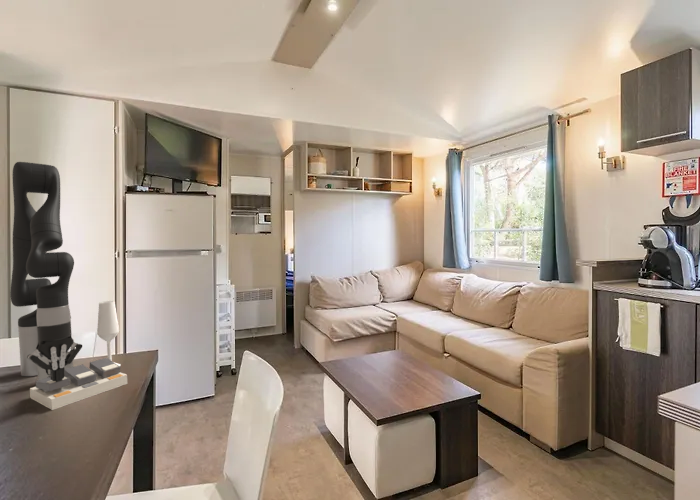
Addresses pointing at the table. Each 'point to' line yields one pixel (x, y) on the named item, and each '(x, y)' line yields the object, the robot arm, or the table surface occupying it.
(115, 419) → the table surface
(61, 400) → the switch panel
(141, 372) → the table surface
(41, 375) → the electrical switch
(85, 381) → the rocker middle
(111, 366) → the block
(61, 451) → the table surface
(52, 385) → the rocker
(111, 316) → the champagne flute
